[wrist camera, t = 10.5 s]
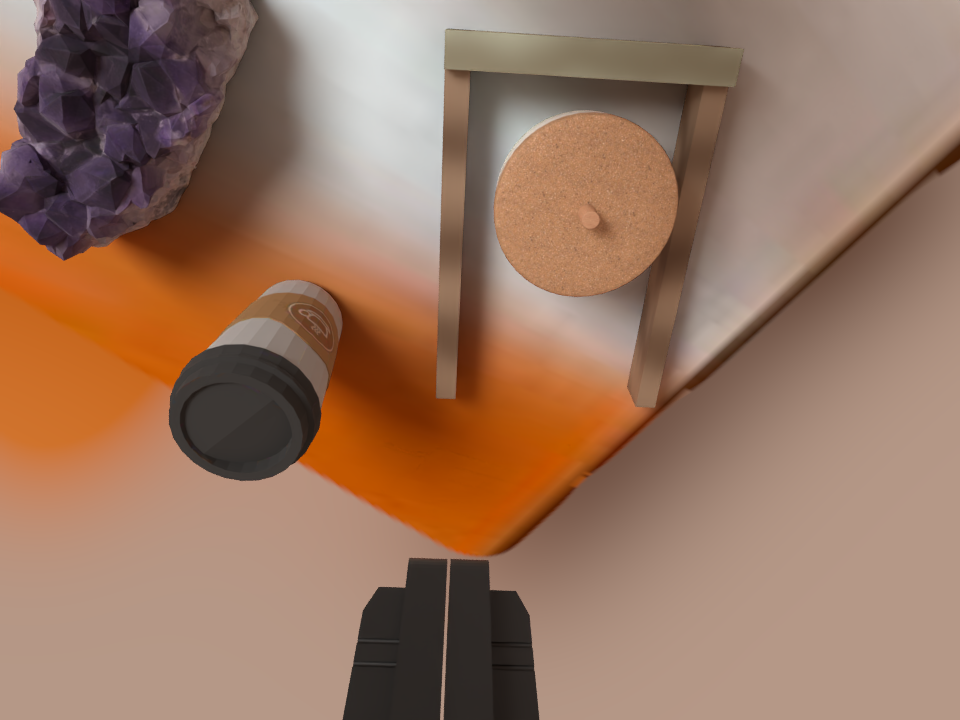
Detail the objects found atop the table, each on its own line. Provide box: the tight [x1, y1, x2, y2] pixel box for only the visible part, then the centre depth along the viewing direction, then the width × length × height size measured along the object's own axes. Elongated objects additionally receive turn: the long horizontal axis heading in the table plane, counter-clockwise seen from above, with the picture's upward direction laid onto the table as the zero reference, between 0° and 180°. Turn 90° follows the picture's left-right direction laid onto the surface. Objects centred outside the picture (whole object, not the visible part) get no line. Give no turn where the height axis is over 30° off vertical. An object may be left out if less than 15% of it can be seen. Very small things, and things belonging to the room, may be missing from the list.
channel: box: [436, 29, 744, 408], centre depth 43 cm, size 25×17×4 cm
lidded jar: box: [494, 110, 678, 297], centre depth 39 cm, size 11×11×9 cm
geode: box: [0, 0, 259, 260], centre depth 36 cm, size 20×12×10 cm, turn 151°
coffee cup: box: [169, 280, 343, 481], centre depth 41 cm, size 8×8×15 cm
